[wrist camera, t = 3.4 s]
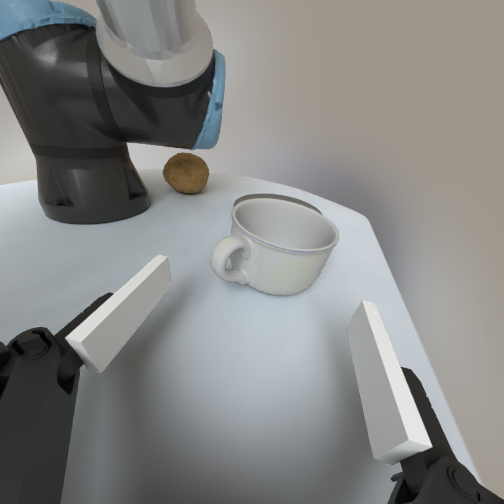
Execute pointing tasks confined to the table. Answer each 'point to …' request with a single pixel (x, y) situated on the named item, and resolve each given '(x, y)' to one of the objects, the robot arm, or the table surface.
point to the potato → (186, 172)
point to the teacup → (275, 246)
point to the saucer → (273, 196)
